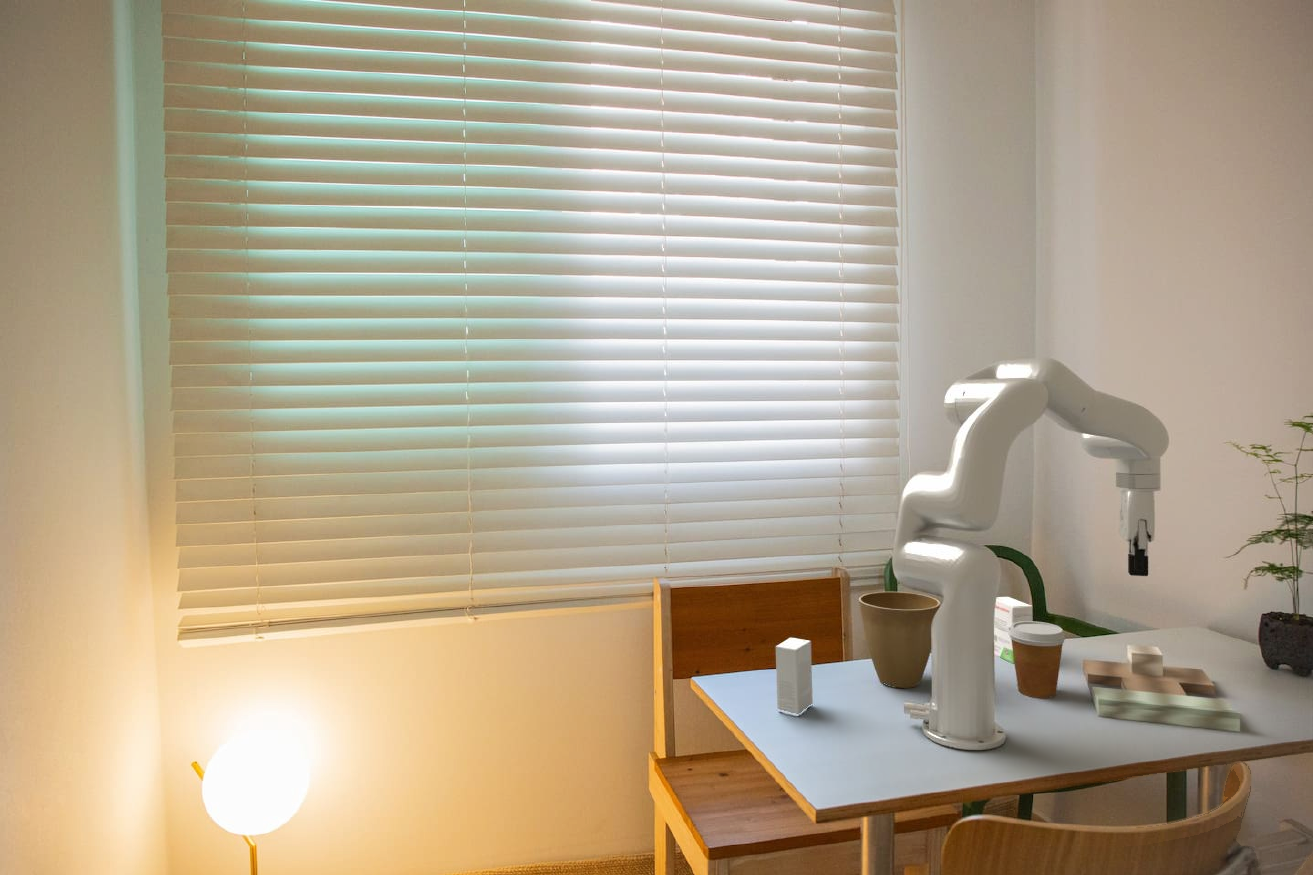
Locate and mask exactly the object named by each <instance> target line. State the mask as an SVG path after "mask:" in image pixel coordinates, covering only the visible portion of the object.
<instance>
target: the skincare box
mask: <svg viewBox="0 0 1313 875" xmlns="http://www.w3.org/2000/svg"><path fill="white" fill-rule="evenodd" d="M775 663H776V664H775V668H776V670H775V671H776V694H777V697H776V699H777V700H776V701H777V710H778V709H780V710H784V711H788V712H791V713H796V714H799V713H801V712H802V711H803V710H804V709H806V708H807V707H808V706H809V705H811V704H813V703H814V699H813V673H812V672H813V670H812V640H806V639H802V638H797V637H788V638H787V639H786V640H784V641H783V642H780V643H779V644H778V645H775Z"/></svg>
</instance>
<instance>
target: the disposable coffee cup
mask: <svg viewBox="0 0 1313 875" xmlns="http://www.w3.org/2000/svg"><path fill="white" fill-rule="evenodd" d="M1008 633H1009V635H1010V638H1011V640H1012V648H1013V655H1014V662H1015V664H1014V668H1015V676H1016V682H1017V683H1016V684H1017V691H1018V692H1019V693H1020V694H1022V695H1024V696H1027V697H1032V698H1037V699H1049V698H1053V697H1055V696H1056V695H1057V688H1058V681H1059V673H1060V667H1061V666H1060V665H1061V659H1062V652H1063V644H1064V643H1065V640H1067V637H1066V635H1065V634H1064V630H1063V628H1062V627H1060V625H1057V624H1053V623H1049V622H1042V621H1022V622H1015V623H1013V624H1012V625H1011V628H1010V630H1009V631H1008Z"/></svg>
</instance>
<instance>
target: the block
mask: <svg viewBox="0 0 1313 875" xmlns="http://www.w3.org/2000/svg"><path fill="white" fill-rule="evenodd" d="M1126 647H1127V653H1126V654H1127V658H1126V659H1127V661H1126V663H1127V666H1128V668H1129V670H1130V672H1131V674H1139V675H1150V676H1161V677H1163V666H1164V665H1163V664H1164V656H1163V653H1162V652H1161V650H1160V649H1159V647H1158V646H1145V645H1133V644H1127V645H1126Z"/></svg>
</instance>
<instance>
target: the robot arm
mask: <svg viewBox="0 0 1313 875" xmlns="http://www.w3.org/2000/svg"><path fill="white" fill-rule="evenodd" d="M943 411H944V413H945V414H944V415H945V416H946V418H947V420H948V421H949V422H950V423H951V424H952V425H954V426H956V427H958V428H959V429H958V431H957V432H956V434H955V436H954V440H953V442H952V446H951V451H950V456H949V460H948V461H949V462H948V466H947V469H946V471H942V470H941V471H940V470H939V471H938V470H925V471H920V472H918V473H915V475H914V476H912V477H911V478H910V479H909V480H908V481H907V482H906V485H905V487H904V489H903V491H902V493H901V496H900V502H899V507H898V514H897V521H896V527H895V534H894V535H895V536H894V542H893V550H892V560H891V561H892V562H891V563H892V564H891V565H892V571H893V574H894V577H895V580H897V581H898V583H899V584H900V585H902V586H903V587H904V588H907V589H911V590H914V591H918V592H921V593H926V594H930V595H935V596H937V597H942V598H943V600H942V603H941V604H940V608H939V609H938V611H937V612H936V614H935V615H934V618H933V620H932V625H931V652H930V656H931V698H930V701H929V702H928V701H927V702H926V701H924V703H916V702H911V701H904V702H903V713H904V714H905V715H909V718H910V719H912V720H923V721H922V724H921V726H922V730H921V731H922V732H923V734H924V735H925V736H926V737H927V738H930V739H929V740H931V741H933V742H935V743H937V744H940V745H942V746H946V747H948V746H949V748H952V747H953V748H954V749H959V750H965V751H966V750H967V751H984V750H991V749H996V748H997V747H1000V746H1002V744H1004V743H1005V741H1006V730H1005V729H1004V728H1003V727H1002V725H1000V723H997V722H996V714H995V713H996V709H995V708H996V706H995V704H996V702H995V700H996V699H995V696H996V695H995V693H996V691H995V688H996V687H995V679H996V678H995V673H996V672H995V654H994V616H995V605H996V598H997V597H998V592H999V588H1000V583H1001V574H1002V569H1001V567H1002V566H1001V563H1000V560H999V558H998V556H997V555H996V554H995V553H994V551H993V550H991V549H990V548H989V547H987V546H985V545H983V544H981V543H978V542H974V541H969V540H965V539H964V540H963V539H958V538H951V537H943V536H939V535H940V534H939V533H940V530H943V529H944V530H948V531H955V532H956V531H958V532H963V533H975V534H977V533H979V534H980V533H985V532H987V531H990V530H991V529H993V527H994V526H995V525H996V523H997V520H998V516H999V511H1000V506H1001V500H1002V493H1003V485H1004V480H1005V479H1004V478H1005V473H1006V472H1005V471H1006V464H1007V460H1008V454H1009V451H1010V449H1011V447H1012V446H1013V443H1014V442H1015V441H1016V439H1017V438H1018V437H1019V435H1021V433H1023V432H1024V431H1025V430H1026V429H1027V428H1029V427H1031V426H1032V425H1034V424H1035V423H1037V421H1039V419H1040V418H1041V417H1042V416H1043V415H1045V416H1046V417H1047V418H1049V419H1050V420H1052V421H1053V422H1054V423H1055V424H1057V425H1058V426H1059V427H1061V428H1063V429H1064V430H1067V431H1070V432H1074V433H1078V434H1081V436H1080V442H1081V446H1082V448H1083V450H1084V451H1085V452H1086V453H1087V454H1088V455H1090V456H1091V457H1093V458H1094V457H1095V458H1097V459H1107V460H1108V459H1109V460H1115V489H1116V490H1117V491H1120V495H1119V496H1120V498H1119V518H1118V520H1119V524H1118V525H1119V526H1118V534H1119V536H1120V537H1121V538H1122V539H1123V540H1124V541H1125V542H1128V555H1127V563H1128V564H1127V565H1128V567H1127V571H1128V572H1127V573H1128V574H1129V575H1130V576H1132V577H1133V576H1136V577H1148V576H1149V543H1152V542H1153V541H1155V528H1156V527H1155V523H1156V522H1155V520H1156V518H1155V514H1156V513H1155V508H1156V507H1155V502H1156V501H1155V492H1159V491H1160V492H1161V490H1162V489H1161V487H1162V486H1161V484H1162V483H1161V479H1162V478H1161V457H1163V455H1165V453H1166V452H1167V450H1168V448H1169V444H1170V438H1169V432H1168V430H1167V428H1166V426H1165V425H1164V423H1163V422H1162V421H1161V419H1160V418H1158V417H1157V416H1156V415H1155V414H1154V413H1153V412H1152V411H1150V410H1149V409H1148V408H1146V407H1145V406H1142V405H1140V404H1138V403H1135V402H1133V401H1131V400H1130V401H1129V400H1126V399H1123V398H1120V397H1117V396H1115V395H1112V394H1108V393H1107V392H1106V393H1105V392H1102V391H1099V390H1096V389H1094V388H1093V387H1091V385H1090V384H1088V383H1087V382H1085V381H1084V380H1083V379H1082V378H1081V377H1080V376H1078V375H1077V374H1076V373H1075V372H1073V371H1072V370H1071V369H1070V368H1069V367H1068V366H1066V365H1065V364H1064V363H1062V362H1061V361H1059V360H1057V359H1053V358H1049V357H1035V358H1031V357H1030V358H1018V359H1016V358H1015V359H1014V358H1013V359H1004V360H1000V361H996V362H994V363H991V364H990V365H987V366H985V367H983V368H980V369H978V370H977V371H975V372H973V373H971V374H968V375H965V376H964V377H962V378H960V379H958V380H956V381H955V382H954V383H952V385H950V387H949V388H948V390H947V391H946V393H945V396H944V399H943Z"/></svg>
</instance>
